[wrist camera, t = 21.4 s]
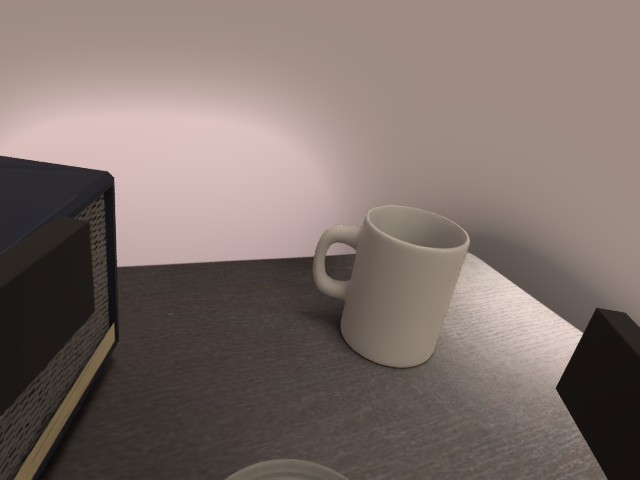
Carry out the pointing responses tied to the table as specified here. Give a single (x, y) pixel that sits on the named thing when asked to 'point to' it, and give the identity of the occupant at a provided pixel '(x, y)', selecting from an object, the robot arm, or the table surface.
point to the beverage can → (286, 471)
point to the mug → (395, 282)
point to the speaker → (95, 334)
